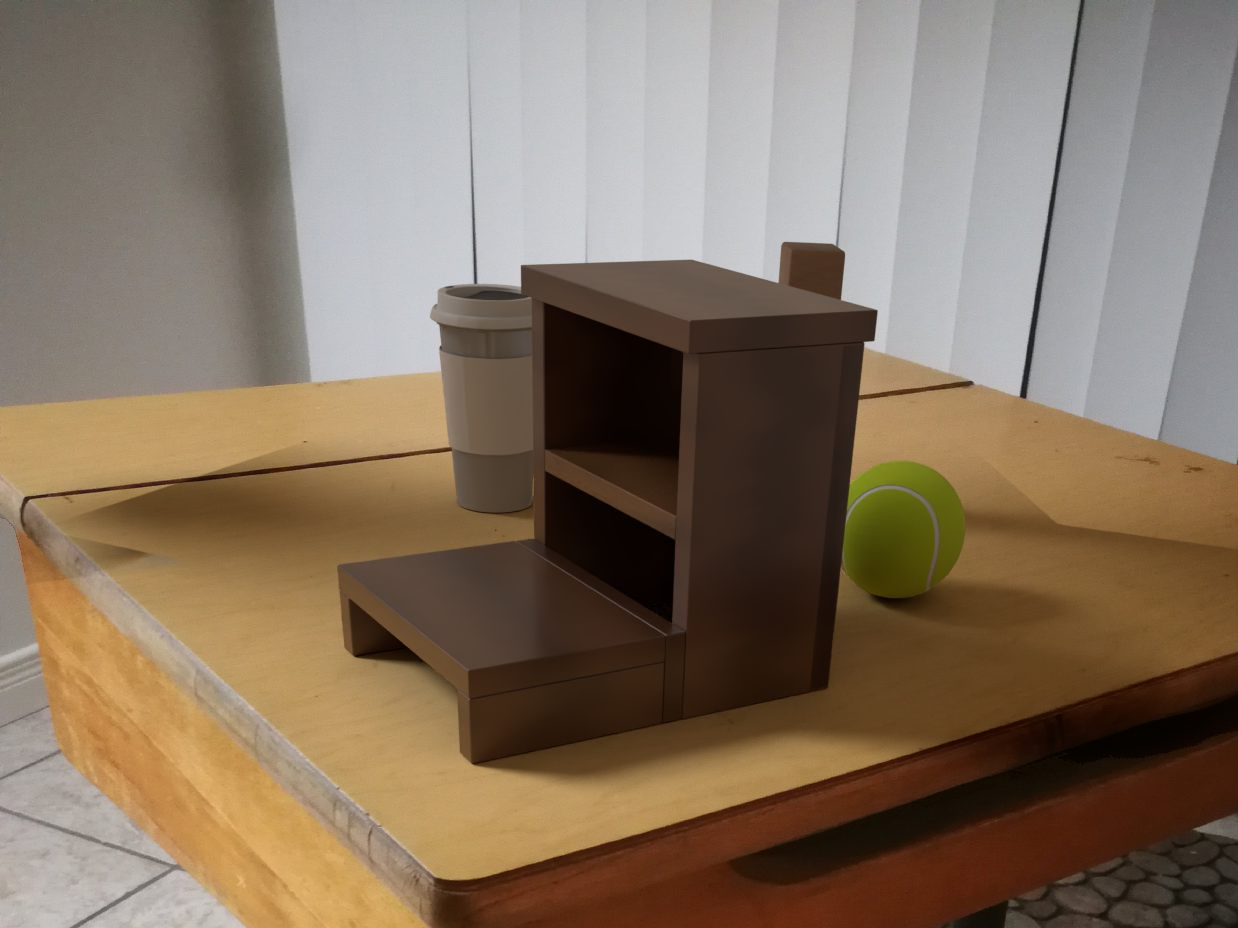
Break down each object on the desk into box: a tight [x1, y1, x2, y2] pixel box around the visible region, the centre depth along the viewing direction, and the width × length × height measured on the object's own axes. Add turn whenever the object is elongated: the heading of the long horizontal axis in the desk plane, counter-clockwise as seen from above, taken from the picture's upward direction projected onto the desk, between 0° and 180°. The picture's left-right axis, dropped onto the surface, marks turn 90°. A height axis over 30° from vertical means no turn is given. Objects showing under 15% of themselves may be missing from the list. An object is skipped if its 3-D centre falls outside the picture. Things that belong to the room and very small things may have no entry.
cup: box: [429, 283, 534, 514], centre depth 85 cm, size 7×7×12 cm
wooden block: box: [777, 241, 846, 300], centre depth 89 cm, size 7×3×15 cm, turn 7°
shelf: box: [336, 259, 879, 764], centre depth 62 cm, size 18×14×16 cm
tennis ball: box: [841, 460, 966, 599], centre depth 76 cm, size 7×7×7 cm
